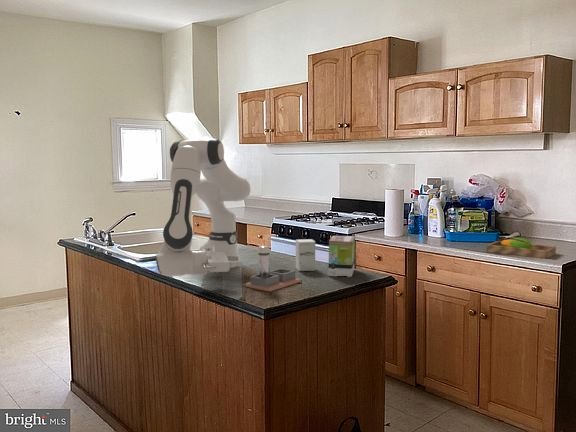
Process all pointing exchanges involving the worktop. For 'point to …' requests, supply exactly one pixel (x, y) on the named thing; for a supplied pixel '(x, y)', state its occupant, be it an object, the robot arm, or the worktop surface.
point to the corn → (517, 243)
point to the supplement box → (305, 255)
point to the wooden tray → (522, 250)
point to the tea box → (341, 256)
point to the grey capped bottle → (264, 262)
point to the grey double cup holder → (273, 280)
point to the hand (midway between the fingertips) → (239, 260)
